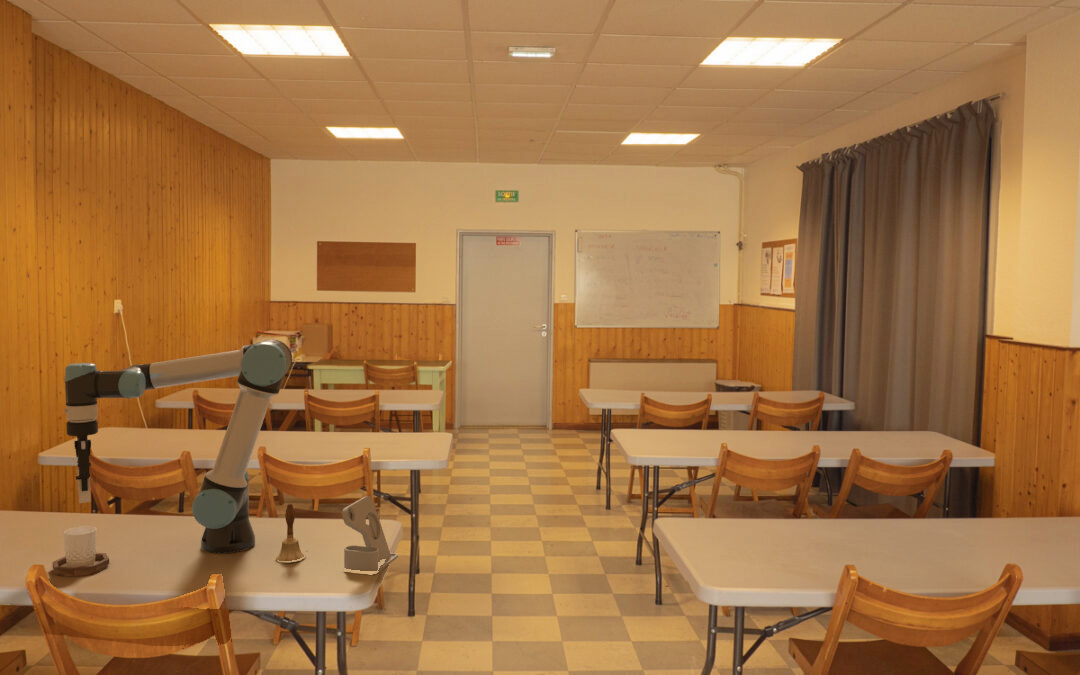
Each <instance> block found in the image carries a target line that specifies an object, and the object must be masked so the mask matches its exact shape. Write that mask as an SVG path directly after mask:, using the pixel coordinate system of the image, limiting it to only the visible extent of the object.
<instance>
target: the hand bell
mask: <svg viewBox="0 0 1080 675" xmlns="http://www.w3.org/2000/svg"><path fill="white" fill-rule="evenodd" d="M284 515H285V522H286V526H287V528H286V529H287V530H286V538H284V539H283V540H282V542H281V549H280V552H279V553H278V555H277V556H276V557H275V559H276V560H279V561H292V560H297V559H300V558H302V557H304V555H305V554H304V553H303V551H302V549H301V547H300V544H299V540H298V539H297V538H295V537H294V523H295V517H296V513H295V509H294V505H293V504H292V503H287V507H286V509H285V514H284ZM276 560H275V561H276Z"/></svg>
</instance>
